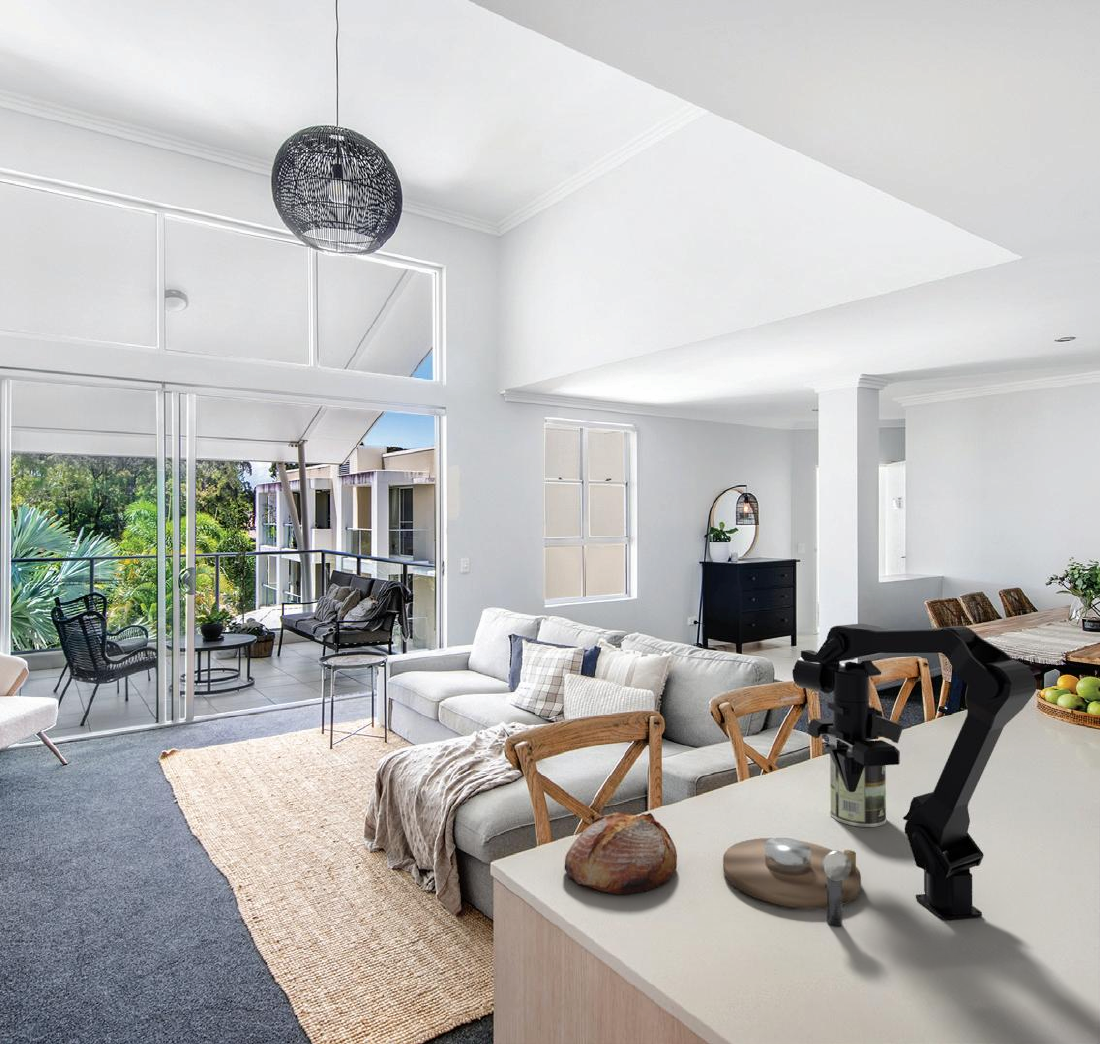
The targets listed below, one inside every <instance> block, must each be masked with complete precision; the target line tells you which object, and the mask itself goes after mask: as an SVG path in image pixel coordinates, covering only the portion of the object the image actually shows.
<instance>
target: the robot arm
mask: <svg viewBox="0 0 1100 1044" xmlns="http://www.w3.org/2000/svg"><path fill="white" fill-rule="evenodd" d="M882 654H942V655H944V656H945V657H946V659H948V661H949V663H950V666H951V667H952V669H953V671H954V672H955V674H956V675H957V676H958V678H960V680H962V681H963V682H964V683H965V684H966V685H967V686H966V691H965V694H964V695H965V696H964V697H965V704H966V711H967V712H966V717H965V719H964V722H963V723H962V726H961V727H960V731H959V733H958V736H957V737H956V740H955V742H954V743H953V747H952V749H951V750H950V752H949V755H948V757H947V760H946V762H945V763H944V767H943V769H942V771H941V774H940V776H939V778H938V780H937V783H936V785H935V787H934V790H933V791H932V792H927V793H924V794H921V795H917V796H914V797H913V798H912V799H911V801H910V804H909V805H910V806H909V809H908V812H907V813H906V815H904V816H903V817H902V819H903V820H904V821H906V822H905V825H904V833H905V835H906V838H907V840H908V842H909V846H910V849H911V852H912V856H913V859H914V863H915V866H916V867H917V868H919V869H921V870H923V881H924V882H923V887H924V888H923V893H922V894H921V893H919V894H916V895H915V899H916V900H917V901H918V902H920V903H921V904H922V905H923V906H924V907H926V908H928V910H930V911H931V912H932V913H933V914H935V915H936V916H937V917H939V919H942V920H958V919H967V918H970V919H971V918H978V917H979V918H980V917H983V912H982V911H981V910H979V909H978V908H976V907H975V906H974V905H973V874H972V872H971V868H975V867H979V866H980V865H981V863H982V861H983V858H984V855H985V854H984V852H983V851H982V850H981V848H980V847H979V845H977V843H976V842H975V840H974V839H973V837H972V836H971V834H970V833H969V832H968V830H969V827H970V823H971V818H970V814H969V804H970V801H971V799H972V797H973V794H974V792H975V791H976V788H977V786H978V784H979V782H980V780H981V777H982V776H983V773H984V770H985V768H986V767H987V764H988V762H989V760H990V758H991V756H992V753H993V751H994V748H995V747H996V745H997V743H998V741H999V739H1000V736H1001V734H1002V732H1003V730H1004V728H1005V726H1006V725H1008V723H1009V722H1011V720H1013V719H1014V718H1015V717H1016V716H1017V715H1018V714H1019V713H1020V712H1021V711H1022V710H1024V708H1025V706H1026V705H1027V704H1028V703H1029V701H1030V700H1031V699H1032V697H1033V696H1034V695H1035V693H1036V691H1037V687H1038V680H1037V679H1036V678H1035V675H1034V672H1032V670H1031V669H1030V668H1029V667H1028V665H1026V664H1024V662H1020V661H1019V660H1015V659H1014V658H1013V657H1011V656H1010V655H1009V654H1008V653H1007V652H1005V651H1004V650H1003V649H1001V648H999V647H997V646H996V645H994V644H992V643H990V642H989V641H987V640H985V639H983V638H982V637H980V636H979V635H978V634H977V632H975V631H974V630H973V629H971V628H970V627H967V626H965V625H954V626H953V625H952V626H946V627H945V626H944V627H930V628H929V627H926V628H897V629H896V628H894V629H890V628H885V627H880V626H878V625H872V624H865V623H852V624H841V625H835V626H832V627H831V628H830V629H829V631H828V633H827V636H826V639H825V641H824V643H822V645H821V647H820V648H819V650H818V651H814V650H812V649H807V650H800V657H799V658H798V659H797V661H796V662H795V664H794V666H793V669H792V679H793V682H794V684H795V685H796V686H798V687H799V688H803V689H807V690H811V691H814V692H820V693H823V694H830V693H832V701H828V702H827V709H829V710H832V717H824V718H823V717H821V718H812V719H811V720H810V721H809V722H808V727H807V729H808V730H807V731H808V732H807V734H808V735H809V736H810V737H813V738H814V739H819V738H820V737H821V735H827V737H828V744H824V748H825V749H826V750H827V751H828V754H829V756H831V758H832V760H833V762H834V764H835V766H836V768H837V770H838V772H839V774H840V776H841V778H842V781H843V783H844V785H845V787H846V789H847V791H849V792H855V791H856V788H857V786H858V783H859V780H860V777H861V775H862V772H863V770H864V768H865V766H882V765H886V766H898V765H900V763H901V752H900V750H899V749H898V748H897V747H896V746H895V745H892V744H890V743H888V742H886V741H885V740H883V739H879V737H882V738H884V739H888V740H890V741H891V742H892V743H895V744H899V741H900V738H901V735H902V733H903V729H904V725H903V724H901V723H898V722H896V721H893V720H891V719H889V718H886V717H884V716H883V711H882V710H881V709H878V708H875V706H872V705H870V677H876V676H881V675H882V671H881V669H879V668H878V667H877V666H876V665H875V664H874V663H873V661H872V660H870V659H869V660H863V661H861V662H860V663H859V662H854V661H853V660H855V659H862V658H868V657H873V656H878V655H882ZM851 660H852V661H851ZM846 661H847V662H846ZM840 662H844V663H842V664H841V663H840ZM869 739H871V740H869ZM867 740H869V741H867Z"/></svg>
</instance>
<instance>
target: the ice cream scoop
mask: <svg viewBox="0 0 1100 1044" xmlns="http://www.w3.org/2000/svg"><path fill="white" fill-rule="evenodd" d="M822 869H823V872H824V873H825V875H826V876H827V883H825V888H826V889H827V908H826V923H827V925H828V926H831V927H833V928H840V927H842V926H843V904H842V880H844V879H845V878H846V877H847V876H848V875H849V873H850V871H851V862H850V859H849V858H848V857H847V856H846V855H845V854H844V851H843V852H842V851H840V850H833V851H831V852H829V853H828V854H827V855H826V856H825V857H824V859H823V862H822Z"/></svg>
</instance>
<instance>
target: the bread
mask: <svg viewBox="0 0 1100 1044" xmlns="http://www.w3.org/2000/svg"><path fill="white" fill-rule="evenodd" d="M677 853H678V852H677V848H676V846H675V843H674V841H673V839H672V838H671V836H670V834H669V832H668V830H667V829H666V828H665V827H664V826H663V825H662V824H661V823H660V822H659V821H657V820H656V819H655V816H654V815H653V814H652V813H651V812H648V813H645V814H644V813H643V814H641V815H636V814H635V815H634V814H633V815H632V814H629V813H628V814H627V813H621V812H613V813H610V814H606V815H602V816H600V817H596V818H595V819H593V820H592V822H591V823H590V824H589V825H588V826H587V827H586V828H585V829H584V830H582V832H581V833H580V834H579V836H578V837H577V838H576V839H575V840H574V841H573V843H572V844H571V846H570V847H569V848H568V851H567V852H566V854H565V857H564V870H565V873H567V877H568V879H573V880H574V881H575V882H576V884H578V885H581V886H585V887H589V888H592V889H594V890H597V891H602V892H605V893H609V894H610V893H611V894H613V895H630V894H634V893H635V894H636V893H637V894H638V893H644V892H646V891H647V892H648V891H649V890H652V889H656V888H658V887H661V886H662V885H664V884H666V883H667V882H668V881H669V880H670V879H671V878H672V877H673V875H674V873H676V870H677V867H678V866H677V865H678V854H677Z"/></svg>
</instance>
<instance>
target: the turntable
mask: <svg viewBox="0 0 1100 1044" xmlns="http://www.w3.org/2000/svg"><path fill="white" fill-rule="evenodd" d="M773 838H774V837H763V838H761V837H760V838H753V839H747V840H744V841H740V842H736V843H735V844H733V845H730V847H728V848H727V850H726V851H724V854H723V857H722V870H723V873H724V876H725V877H726V879H727V880H728V881H729V882H730V883H731V884H732V885H734V886H735V887H736V888H737V889H739V891H742V892H743V893H746V894H747V895H749V896H752V897H754V898H756V899H759V900H762V901H763V902H764V901H765V902H767V903H771V904H776V905H781V906H785V907H790V908H791V907H792V908H797V909H798V908H799V909H800V908H801V909H825V908H826V909H827V889H826V888H825V883H827V876H826V875H825V873H824V872H823V869H822V862H823V859H824V857H825V856H826V855H827V854H828V853H829V852H831V851H834V850H832V849H830V848H827V847H826V846H825V847H824V846H821V845H819V844H815V843H812V842H808V841H803V840H800V841H801V842H804V843H805V844H807V845H808V846H809V847H810V849H811V870H810V872H808V873H807V874H804V875H798V876H792V875H784V874H780V873H777V872H775V871H772V870H771V869H769V868H768V867H767V866H766V864H765V843H766V841H768V840H769V839H773ZM843 853H844V854H845V855H846V856H847V857H848V858H849V859H850V862H851V871H850V873H849V875H848V876H847V877H846V878H845V879H844V880H842V905H844V904H848V903H849V902H852V901H853V900H854V899H855V898H857V897H858V895H860V893H861V890H862V889H861V888H862V887H861V886H862V876H861V872H860V870H859V868H858V867H857V856H856V855H857V853H856V851H854V850H850V849H844V851H843Z"/></svg>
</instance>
